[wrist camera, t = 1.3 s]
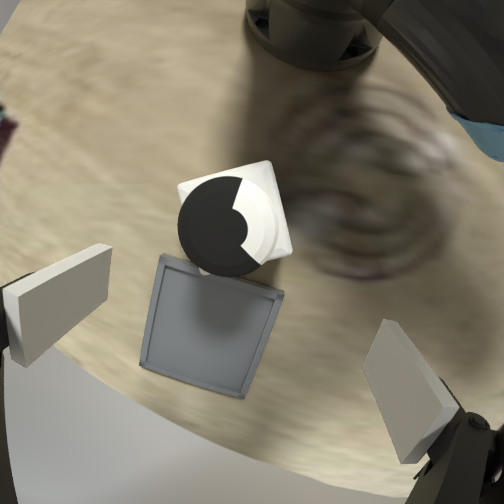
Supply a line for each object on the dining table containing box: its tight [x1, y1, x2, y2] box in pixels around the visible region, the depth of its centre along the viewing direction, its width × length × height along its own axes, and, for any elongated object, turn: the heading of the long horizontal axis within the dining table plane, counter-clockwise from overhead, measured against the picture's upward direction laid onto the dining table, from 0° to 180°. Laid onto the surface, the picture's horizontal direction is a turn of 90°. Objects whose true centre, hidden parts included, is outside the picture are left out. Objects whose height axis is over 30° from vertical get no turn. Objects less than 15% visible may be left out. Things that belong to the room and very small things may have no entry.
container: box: [177, 160, 293, 277], centre depth 26 cm, size 8×8×13 cm
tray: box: [139, 253, 284, 399], centre depth 34 cm, size 14×14×1 cm
